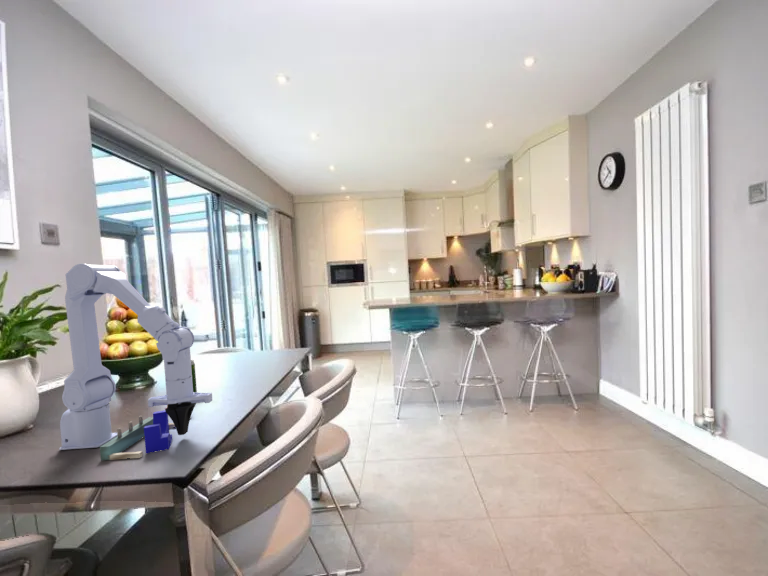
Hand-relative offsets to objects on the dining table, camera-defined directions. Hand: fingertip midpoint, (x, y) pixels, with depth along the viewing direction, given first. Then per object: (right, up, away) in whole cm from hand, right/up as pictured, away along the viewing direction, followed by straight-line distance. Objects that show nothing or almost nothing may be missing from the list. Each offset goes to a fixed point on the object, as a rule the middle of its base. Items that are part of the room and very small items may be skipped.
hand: (183, 433), depth 92 cm
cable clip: (-5, -2, -1) cm, 5 cm away
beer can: (-18, -2, +37) cm, 41 cm away
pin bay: (-9, -2, 0) cm, 9 cm away
